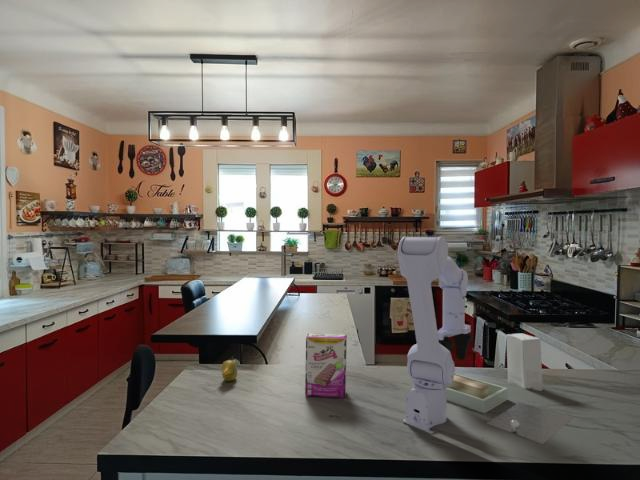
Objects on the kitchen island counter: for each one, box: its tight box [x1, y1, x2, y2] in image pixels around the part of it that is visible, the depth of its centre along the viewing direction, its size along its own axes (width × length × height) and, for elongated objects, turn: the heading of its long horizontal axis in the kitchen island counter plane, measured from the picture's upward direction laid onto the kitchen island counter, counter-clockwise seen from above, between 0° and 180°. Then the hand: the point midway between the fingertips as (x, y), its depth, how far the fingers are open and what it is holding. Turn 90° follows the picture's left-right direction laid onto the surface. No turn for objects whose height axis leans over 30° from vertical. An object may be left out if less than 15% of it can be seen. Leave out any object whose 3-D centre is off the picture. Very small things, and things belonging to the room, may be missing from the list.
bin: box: [447, 373, 509, 414], centre depth 107 cm, size 13×19×4 cm
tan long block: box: [447, 375, 488, 399], centre depth 107 cm, size 12×4×4 cm, turn 41°
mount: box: [485, 401, 573, 445], centre depth 92 cm, size 18×12×4 cm, turn 131°
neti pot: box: [220, 359, 238, 382], centre depth 120 cm, size 4×15×6 cm, turn 1°
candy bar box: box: [304, 332, 348, 399], centre depth 109 cm, size 11×5×16 cm, turn 84°
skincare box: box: [506, 332, 544, 392], centre depth 116 cm, size 8×6×15 cm
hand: (453, 362), depth 108 cm, fingers open, 7 cm apart
